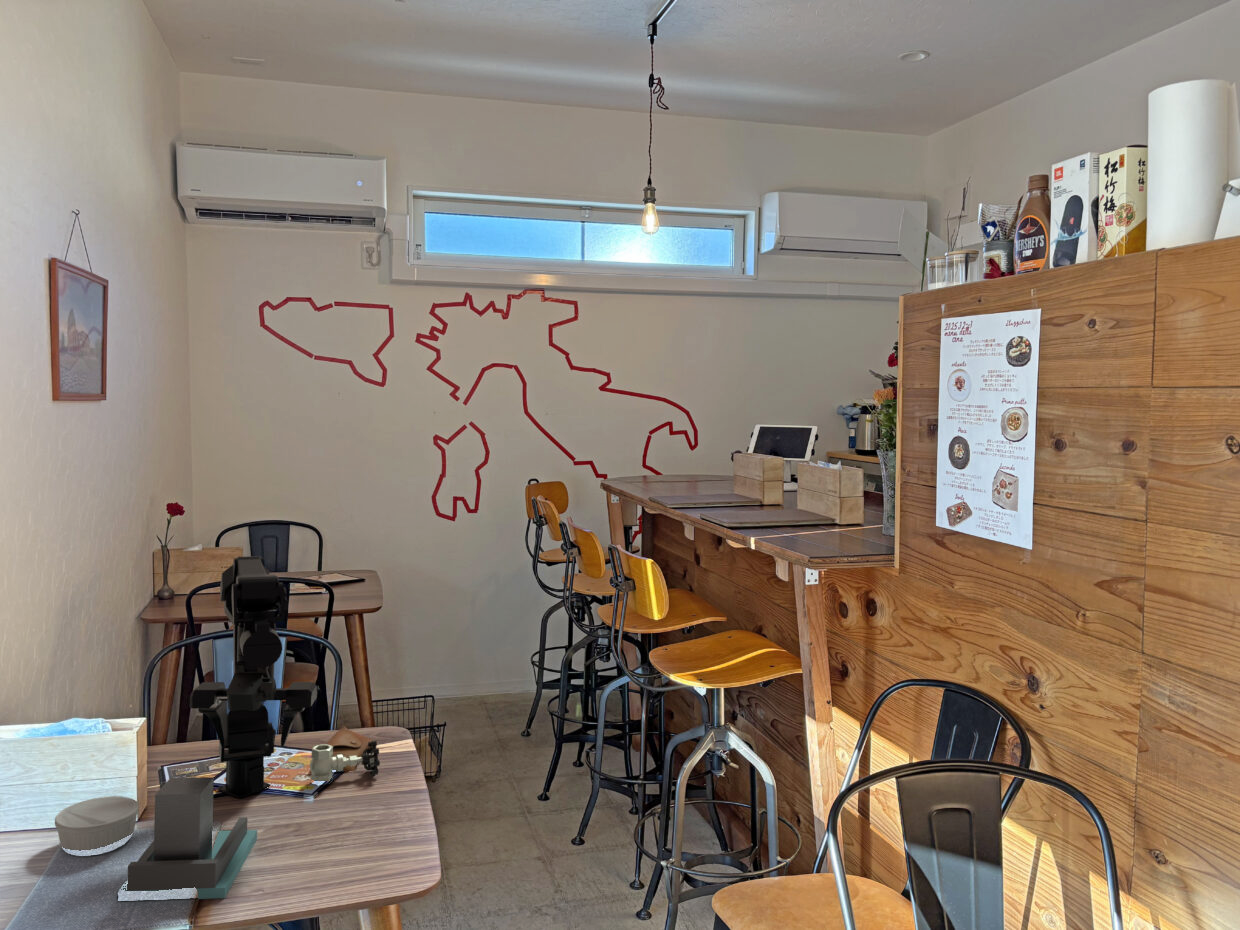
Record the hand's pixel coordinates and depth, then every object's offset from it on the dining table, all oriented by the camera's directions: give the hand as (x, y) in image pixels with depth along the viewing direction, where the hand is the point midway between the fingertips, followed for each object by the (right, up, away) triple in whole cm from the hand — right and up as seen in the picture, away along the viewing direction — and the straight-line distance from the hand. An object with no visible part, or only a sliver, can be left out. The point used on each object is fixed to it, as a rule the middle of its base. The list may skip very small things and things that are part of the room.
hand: (253, 746), depth 147 cm
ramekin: (-21, -13, -8) cm, 26 cm away
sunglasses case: (+5, -13, +32) cm, 35 cm away
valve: (+8, -13, +21) cm, 26 cm away
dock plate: (-3, -13, -15) cm, 20 cm away
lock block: (-3, -12, -18) cm, 22 cm away
